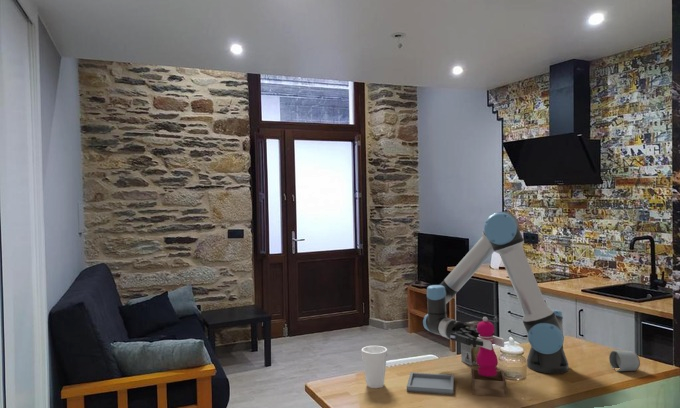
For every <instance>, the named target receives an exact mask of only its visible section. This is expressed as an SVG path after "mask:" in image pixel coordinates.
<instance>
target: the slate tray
mask: <svg viewBox="0 0 680 408" xmlns="http://www.w3.org/2000/svg"><path fill="white" fill-rule="evenodd" d="M454 379H455V377H454V374H445V373H444V374H442V373H430V372H429V373H427V372H410V373H409V377H408V381H407V384H406V392H409V393H410V392H411V393H412V392H413V393H425V394H437V395H449V396H450V395H451V396H452V395H453V396H454V388H455V387H454V382H455V380H454Z"/></svg>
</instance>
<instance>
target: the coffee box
mask: <svg viewBox="0 0 680 408" xmlns="http://www.w3.org/2000/svg"><path fill="white" fill-rule="evenodd" d="M479 322H481V321H480V320H471V321H466V322H463V323H464V324H465V326H466V327H468V328H470V329H475V330H476V328H477V325H478V323H479ZM479 349H480V346H478V345H476V347H473V345H472V344H471V345H470V346H469V345H466V344H463V343H460V354H461V356H460V357H461V358H460V359H461V362H462V363H464V364H467V365H469V366H475V365H478V364H477V361H476V360H477V355H478V352H479Z"/></svg>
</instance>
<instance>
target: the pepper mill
mask: <svg viewBox="0 0 680 408" xmlns="http://www.w3.org/2000/svg"><path fill="white" fill-rule="evenodd" d="M477 331H478V333H479V338H482V339H485V340H488V341H491V342H492V340H493V335H492V334H493V333H495V325H494V324H493V322H491V321H489V319H488V317H487V316H483V317H482V321H480V322H479V323H478V325H477ZM493 345H494V344H492V350H489V349H486V348H483V347H480V349H479V352H478V355H477V360H476V361H477V364H476V365H478V368H477V369H478V373H479V374H480V375H483V376H495V375H497V370H498V369H497V368H496V367H497V366H498V363H499V362H498V361H499V359H498V357H497V355H496V352H495V350H494V347H493Z"/></svg>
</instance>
